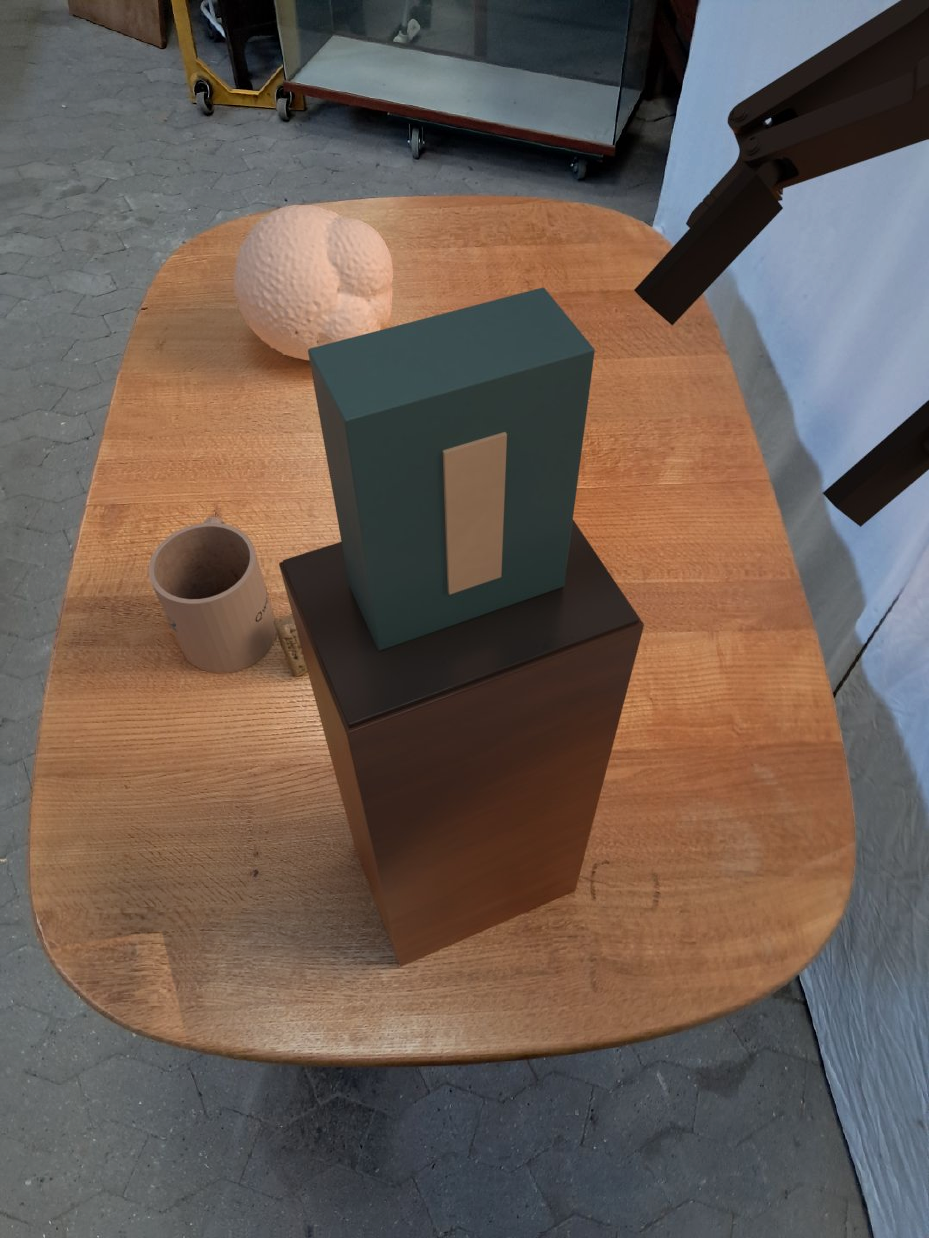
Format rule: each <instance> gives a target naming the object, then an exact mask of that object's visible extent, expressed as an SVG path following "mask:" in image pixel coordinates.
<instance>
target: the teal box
mask: <svg viewBox="0 0 929 1238" xmlns="http://www.w3.org/2000/svg"><path fill="white" fill-rule="evenodd" d="M595 352H596V350H595V348H594V346H592V344H591V343H590V341H588V339H587V338H586V336H584V334H582V332H581V331H580V329H579V328H578V327H577V326H576V324H575V323H574V322H573V321H572V320H571V318H570V317H569V316H568V315H567V314H566V313H565V311H564V309H562V307H561V306H560V305H559V303H557V301H556V300H555V299H554V298H553V296H552V295H551V294H550V293H549V291H548V290H547V289H546V288H545V287H539V288H535V289H531V290H528V291H524V292H520V293H516V294H513V295H508V296H505V297H501V298H497V299H493V300H490V301H486V302H482V303H478V304H475V305H471V306H467V307H463V308H459V309H456V310H452V311H448V312H444V313H440V314H436V315H433V316H429V317H424V318H421V319H417V320H413V321H409V322H405V323H402V324H398V325H395V326H394V325H393V326H390V327H387V328H383V329H380V330H379V331H375V332H371V333H367V334H364V335H360V336H356V337H352V338H348V339H345V340H341V341H337V342H333V343H329V344H326V345H322V346H318V347H314V348H310V349H308V354H309V360H310V361H309V360H308V361H309V366H310V371H311V378H312V383H313V388H314V393H315V399H316V405H317V411H318V416H319V422H320V428H321V435H322V438H323V446H324V449H325V456H326V462H327V469H328V472H329V473H328V474H329V478H330V479H329V480H330V485H331V490H332V491H331V492H332V497H333V502H334V507H335V513H336V518H337V519H336V520H337V524H338V529H339V536H340V542H342V548H343V553H344V559H345V565H346V570H347V576H348V582H349V586H350V589H351V591H352V593H353V595H354V597H355V600H356V602H357V604H358V606H359V609H360V611H361V613H362V615H363V617H364V620H365V622H366V624H367V626H368V629H369V631H370V633H371V635H372V638H373V640H374V642H375V644H376V646H377V649H378V650H379V651H380V650H383V649H386V648H389V647H392V646H395V645H398V644H400V643H403V642H406V641H409V640H412V639H415V638H418V637H421V636H423V635H426V634H429V633H432V632H435V631H438V630H441V629H444V628H446V627H449V626H452V625H455V624H458V623H461V622H464V621H467V620H469V619H472V618H475V617H478V616H481V615H484V614H487V613H490V612H492V611H495V610H498V609H501V608H504V607H507V606H510V605H513V604H515V603H518V602H521V601H524V600H527V599H530V598H533V597H536V596H538V595H541V594H544V593H547V592H550V591H553V590H556V589H559V588H561V587H564V583H565V575H566V568H567V560H568V552H569V545H570V537H571V529H572V522H573V520H574V513H575V505H576V497H577V490H578V483H579V475H580V466H581V460H582V459H581V458H582V453H583V444H584V438H585V437H584V436H585V430H586V421H587V415H588V414H587V413H588V407H589V406H588V405H589V399H590V398H589V397H590V391H591V383H592V376H593V375H592V374H593V367H594V359H595Z"/></svg>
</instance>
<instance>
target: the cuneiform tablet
mask: <svg viewBox="0 0 929 1238" xmlns="http://www.w3.org/2000/svg"><path fill="white" fill-rule="evenodd" d="M275 619H276V620H275V621H274V626H275V628H276V631H277V632H276V635H277V637H278V642H279V645H280V648H281V649H282V652H283V655H284V657H285V660H286V662H287V663H288V667H289V671H290V672H291V674H292V675H293V676H294V677H300V676H301V675H304V674H305V673H306V672H308V671H307V667H306V663H305V660H304V656H303V652H302V648H301V645H300V641H299V637H298V633H297V630H296V626H295V622H294V619H293V615H292V613H290V614H288V615H284V616H282V617H279V618H275Z"/></svg>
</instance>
